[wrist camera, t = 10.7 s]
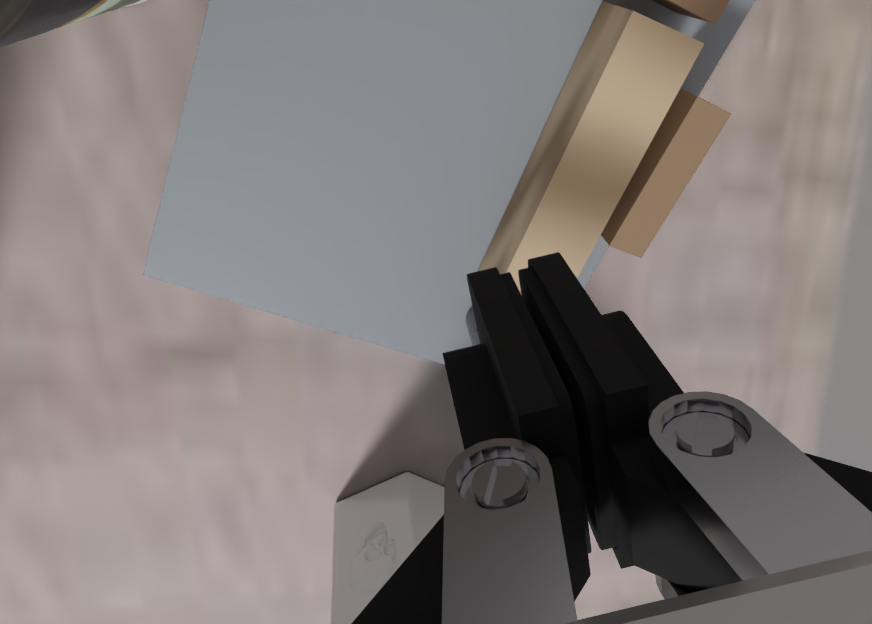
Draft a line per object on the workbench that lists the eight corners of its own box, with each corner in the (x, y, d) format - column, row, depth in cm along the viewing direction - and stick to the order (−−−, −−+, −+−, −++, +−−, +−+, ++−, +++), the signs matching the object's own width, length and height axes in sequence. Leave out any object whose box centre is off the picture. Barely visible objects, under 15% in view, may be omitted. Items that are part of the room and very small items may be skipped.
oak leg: (529, 300, 30) (545, 335, 27) (472, 283, 29) (484, 318, 26) (667, 31, 24) (704, 43, 22) (602, 1, 24) (633, 10, 21)
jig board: (150, 262, 28) (120, 311, 24) (291, -307, 20) (277, -360, 16) (519, 374, 33) (539, 428, 30) (758, -38, 25) (827, -31, 21)
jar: (442, 450, 35) (478, 665, 25) (500, 538, 39) (552, 754, 29) (297, 514, 37) (276, 744, 26) (368, 593, 41) (374, 819, 30)
